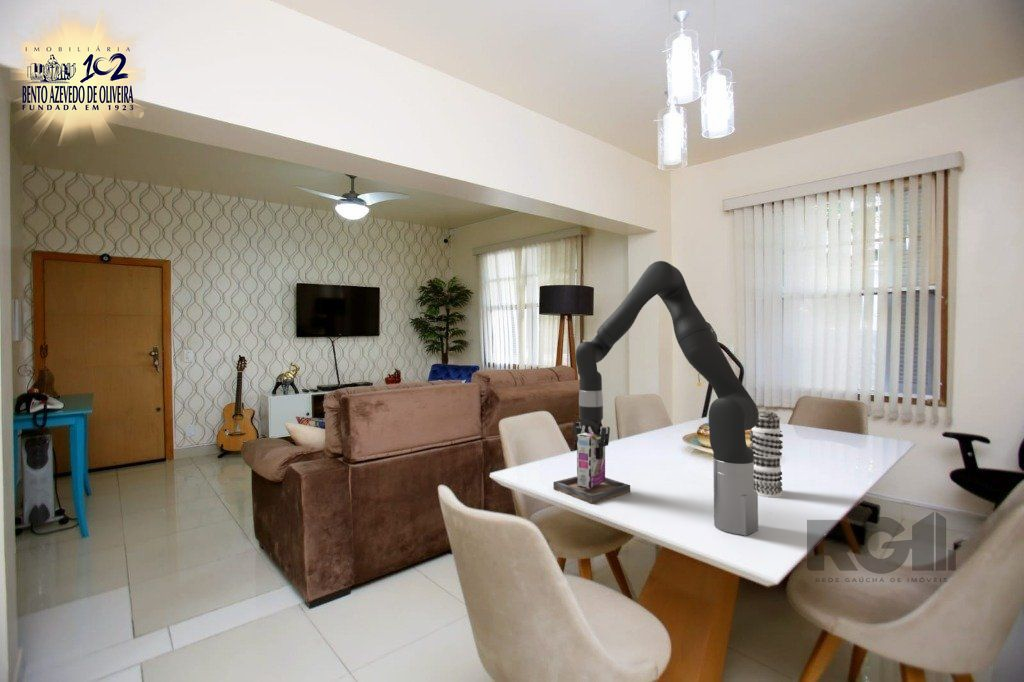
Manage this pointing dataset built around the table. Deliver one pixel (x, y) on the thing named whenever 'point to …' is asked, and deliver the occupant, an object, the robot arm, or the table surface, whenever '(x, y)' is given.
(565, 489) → the wooden tray
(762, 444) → the decorative candle
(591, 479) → the candy bar box
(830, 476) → the table surface
